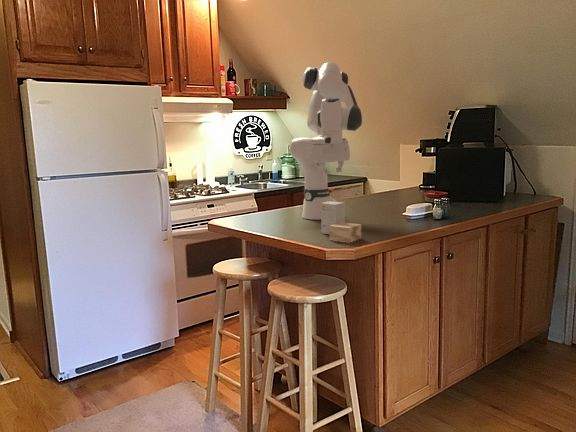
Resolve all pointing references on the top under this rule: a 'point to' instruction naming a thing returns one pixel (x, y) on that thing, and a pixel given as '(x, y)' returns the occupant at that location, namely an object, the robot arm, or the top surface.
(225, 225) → the top surface
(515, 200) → the top surface
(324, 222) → the small box
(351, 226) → the maple block
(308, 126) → the robot arm
